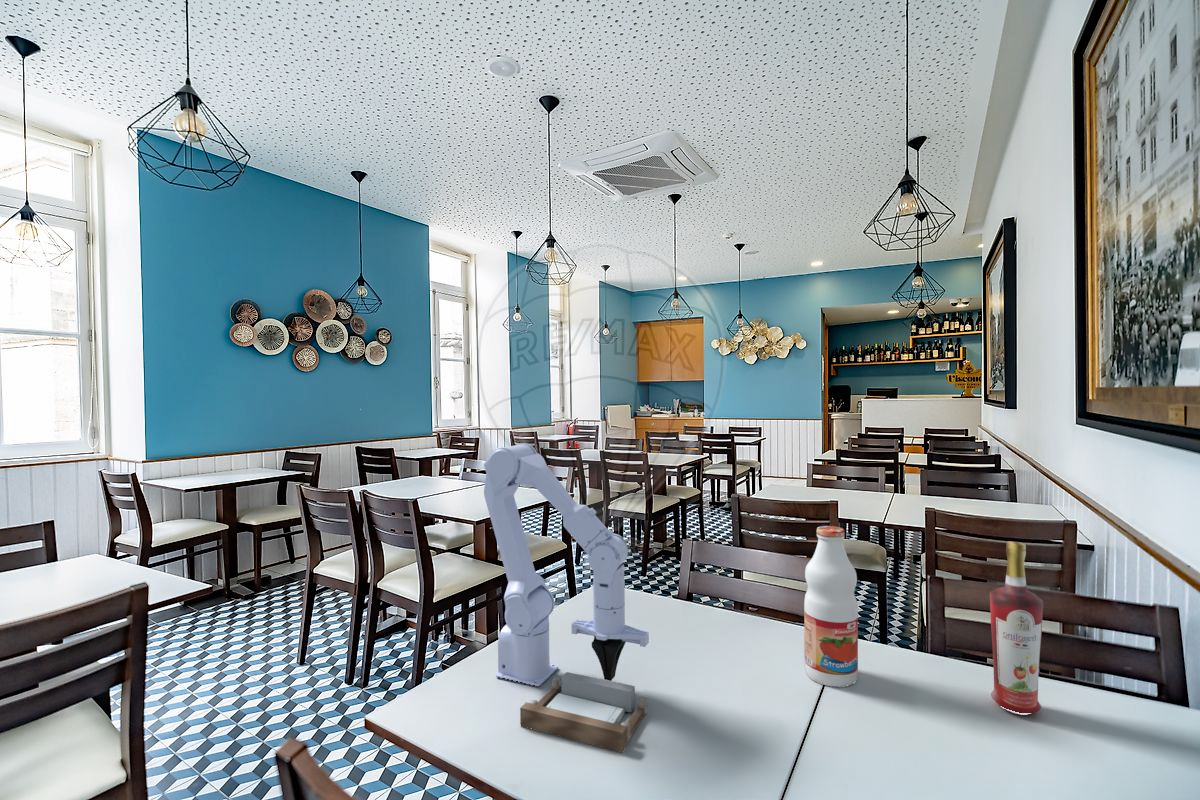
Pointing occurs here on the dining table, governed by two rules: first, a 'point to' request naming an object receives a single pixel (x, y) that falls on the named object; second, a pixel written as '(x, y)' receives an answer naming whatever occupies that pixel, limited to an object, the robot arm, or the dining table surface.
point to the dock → (580, 722)
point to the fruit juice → (831, 612)
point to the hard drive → (587, 708)
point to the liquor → (1016, 637)
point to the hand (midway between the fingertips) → (609, 677)
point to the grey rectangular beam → (599, 690)
